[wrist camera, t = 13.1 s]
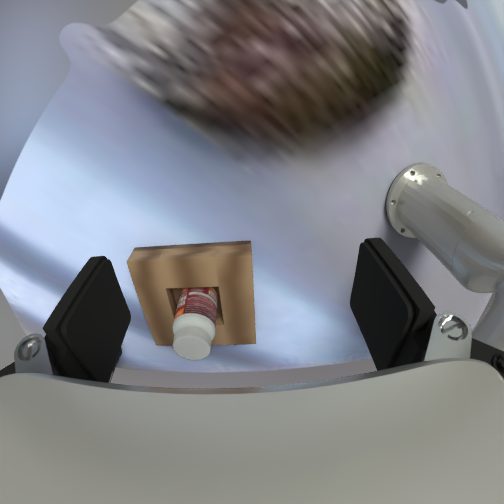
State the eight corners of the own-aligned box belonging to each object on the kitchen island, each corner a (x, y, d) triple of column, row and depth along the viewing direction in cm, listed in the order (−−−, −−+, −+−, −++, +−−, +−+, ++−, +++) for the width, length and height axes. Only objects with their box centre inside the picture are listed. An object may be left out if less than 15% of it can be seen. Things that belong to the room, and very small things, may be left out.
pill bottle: (181, 277, 43) (168, 329, 33) (220, 283, 44) (216, 337, 34) (179, 306, 46) (168, 358, 36) (215, 311, 47) (211, 365, 37)
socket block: (250, 240, 41) (251, 254, 38) (254, 327, 50) (256, 343, 47) (134, 247, 41) (126, 261, 38) (160, 329, 50) (156, 345, 47)
